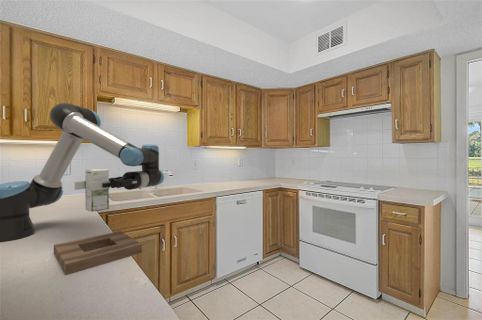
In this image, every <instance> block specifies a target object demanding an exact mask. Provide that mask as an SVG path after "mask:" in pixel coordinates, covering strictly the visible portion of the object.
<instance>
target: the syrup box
mask: <svg viewBox="0 0 482 320" xmlns="http://www.w3.org/2000/svg"><path fill="white" fill-rule="evenodd" d="M84 173H85V174H84V175H85V177H84V178H85V179H84V181H85V189H84V190H85V210H86V211H88V212H92V213H93V212H99V211H104V210H109V209H110V206H109V205H110V204H109V203H110V201H109V200H110V199H109V198H110V196H109V195H110V188H108V189H101V190H94V191H92V184H91V182H101V181H109V176H110V174H109V173H110V170H109V169H107V168H97V169H92V168H91V169H85V170H84Z"/></svg>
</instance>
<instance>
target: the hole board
mask: <svg viewBox="0 0 482 320" xmlns="http://www.w3.org/2000/svg"><path fill="white" fill-rule="evenodd" d="M142 246H143V244H142V243H141V242H139V241H138V240H136V239H134V238H132V237H131V236H129V235H127V234H125V233H124V231H123V232H122V231H121V230H119V231H118V230H117V231H113V232H109V233H104V234H98V235H94V236H90V237H86V238H80V239H76V240H71V241H67V242H61V243H56V244H53V255H54V257H55V258H56V261H58V264H59V266H60V267H61V269H62V271H63V273H64V275H69V274H73V273H75V272H79V271H83V270H87V269H89V268H93V267H96V266H101V265H103V264H107V263H110V262H113V261H118V260H120V259H124V258H127V257H131V256H134V255H137V254H142V253H143V250H142V249H143V247H142Z"/></svg>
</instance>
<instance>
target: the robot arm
mask: <svg viewBox="0 0 482 320" xmlns="http://www.w3.org/2000/svg"><path fill="white" fill-rule="evenodd" d="M49 119H50V121H51V123H52V125H54V126H55V127H57V128H58V129H60V130H61V131H62V133H61V135H60V137H59V139H58V141H57V142H56V144H55V146H54V148H52V149H53V150H52V152H51V153H50V155H49V157H48V159H47V160H46V162H45V165H44V166H43V168H42V169H41V172H40V173H38V174H36V175H34V176H33V178H32V180H31V181H30V182H29V181H25V180H18V181H16V180H15V181H9V182H3V183H0V242H7V241H8V242H9V241H14V240H19V239H22V238H23V239H24V238H26V237H29V236H32V235H34V234H35V230H36V229H35V226H34V223H33V222H32V221H33V220H32V219H31V216H30V209H33V208H38V207H42V206H43V207H45V206H49V205H52V204H54V203H57V202H58V201H60V199H61V198H62V197H63V192H64V191H63V189H64V188H63V182H62V181H61V180H62V178H63V177H64V175H65V173H66V171H67V169H68V168H69V166H70V163H71V162H72V160H73V159H74V157H75V155H76V153H77V151H78V150H79V148H80V147H81V145H82V143H83V141H87V142H89V143H90V144H93V145H95V146H97V147H98V148H100V149H102V150H104V151H105V152H107V153H109V154H110V155H112V156H114V157H116V158H118V159H120V162H121V163H122V164H123V165H124V166H127V167H139V166H140V167H141V170H137V171H127V172H125V173H124V174H123V175H122V176H117V177H110V178H109V181H101V182H91V184H92V191H94V190H101V189H108V188H109V189H115V188H116V189H121V188H124V189H125V190H128V191H130V190H137V189H139V190H141V189H142V188H149V187H155V186H159V185H161V184H162V183H163V182H164V179H165V176H164V173H163V171H161V169H160V150H159V146H158V145H156V144H144V145H141V148H140V147H138V146H136V145H134V144H133V143H131V142H128V141H126V140H125V139H123V138H121V137H120V136H118V135H115V134H114V133H112V132H110V131H108V130H107V129H104V128H103V127H101V124H102V123H101V119H100V116H99V114H98V113H97V112H95V111H94V110H92V109H89V108H87V107H83V106H79V105H75V104H72V103H65V102H62V103H58V104H56V105H54V106H53V107H52V108H51V109H50V112H49ZM74 190H75V191H77V190H85V180H80V181H74Z"/></svg>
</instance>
